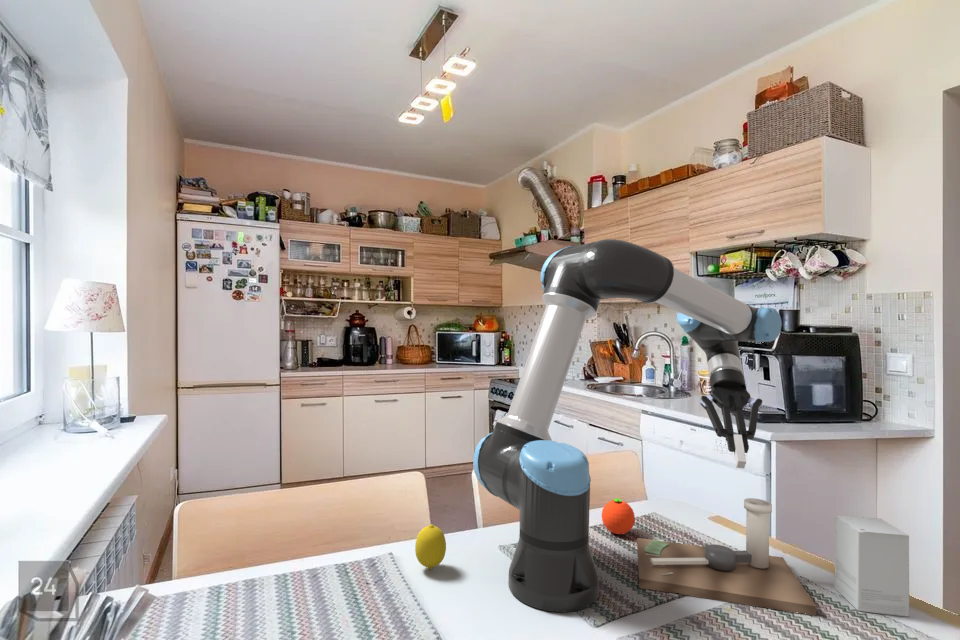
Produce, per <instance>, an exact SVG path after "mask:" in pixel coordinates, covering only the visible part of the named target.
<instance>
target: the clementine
mask: <svg viewBox="0 0 960 640" xmlns="http://www.w3.org/2000/svg"><path fill="white" fill-rule="evenodd" d="M601 521H602V523H603V525H604V527H605V528H606V529H607V530H608V531H609V532H611V533H613V534H616V535H625V534H627V533H629V532H630V531H631V530H632V529H633V527H634V525H635V521H636V517H635V512H634V509H633V508H632V507H631V505H629V504H628V503H627V502H626V501H624V500H622V499H621V498H613V499H612V500H610V501H608V502H607V503H606V504H605V505H604V506H603V507H602V510H601Z"/></svg>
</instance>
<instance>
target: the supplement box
mask: <svg viewBox="0 0 960 640" xmlns="http://www.w3.org/2000/svg"><path fill="white" fill-rule="evenodd" d="M834 589H835V590H836V591H838V593H839V594H840V595H841V596H843V598H845V600H847V601H848V603H850V605H851V606H852V607H854V608H855V609H856V611H859V612H865V613H866V612H867V613H871V614H872V613H873V614H882V615H890V616H899V617H910V535H909V534H907V533H906V532H904V531H902V530H901V529H899V528H897V527H896V526H894V525H892V524H891V523H889V522H887V521H885V520H884V519H882V518H878V517H877V518H876V517H865V516H849V515H834Z"/></svg>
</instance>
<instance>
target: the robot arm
mask: <svg viewBox="0 0 960 640" xmlns="http://www.w3.org/2000/svg"><path fill="white" fill-rule="evenodd" d="M540 271H541V272H540V283H541V284H542V286H541V287H542V288H541V289H542V290H543V293H542V296H541V299H542V301H543V303H544V306H545V309H544V312H543V314H542V317H541V320H540V322H539V326H538V327H537V331H536V334H535V336H534V339H533V342H532V345H531V348H530V351H529V352H528V357H527V359H526V361H525V365H524V367H523V370H522V372H521V376H520V379H519V381H518V384H517V386H516V389H515V392H514V394H513V397H512V400H511V404H510V406H509V410H508V411H507V414H506V415H505V416H503V417H501V418H499V419H497V421H496V422H495V425H494V428H493V430H492V432H490V433H488V434H487V435H485V436H484V437H482V438H481V439H480V440H479V442H478V443H477V444H476V447H475V450H474V453H473V459H472V465H473V472H474V474H475V477H476V478H477V481H478V482H479V484H480V485H481V486H482V487H483V488H484V489H486V491H488V492H489V493H490V494H491V495H493V496H494V497H497V498H500V499H501V500H503V501H505V502H506V503H508V504H509V505H511V506H512V507H514V508H517V510H518V511H519V535H518V536H519V537H518V541H517V544H516V548H515V550H514V554H513V556H512V559H511V562H510V565H509V568H508V581H507V582H508V588H509V591H510V593H511V594H512V595H513V596H514V597H515V598H516V599H518V600H519V601H520V602H522V603H524V604H526V605H528V606H530V607H533V608H535V609H538V610H543V611H548V612H557V613H559V612H561V613H562V612H563V613H565V612H566V613H567V612H575V611H579V610H583V609H585V608H587V607H589V606H591V605H593V604H594V603H595V602H596V601H597V599H598V598H599V594H600V579H599V574H598V571H597V567H596V564H595V561H594V558H593V555H592V550H591V547H590V543H589V541H590V540H589V539H590V538H589V534H590V533H589V532H590V503H591V502H590V500H591V481H592V480H591V479H592V478H591V475H590V474H591V473H590V463H589V459H588V457H587V456H586V454H585V453H584V452H583V451H582V450H580V449H579V448H577V447H576V446H573V445H571V444H568V443H565V442H557V441H556V440H555V441H554V440H552V438H551V436H550V433H549V429H550V425H551V422H552V419H553V416H554V414H555V411H556V408H557V405H558V402H559V398H560V396H561V393H562V390H563V387H564V384H565V383H566V382H565V381H566V378H567V375H568V372H569V369H570V366H571V363H572V360H573V357H574V354H575V352H576V349H577V346H578V343H579V340H580V337H581V334H582V331H583V329H584V325H585V323H586V321H587V320H588V319H591V318H592V317H595V316H596V315H597V311H598V308H599V306H600V305H599V304H600V302H601V300H606V299H607V300H608V299H630V300H637V301H638V302H641V303H644V304H654V303H657V304H659V305H661V306H663V307H666V308H669V309H670V310H673V311H674V312H677V315H676V322H677V323H678V325H680V327H681V328H682V330H683V332H684V333H686V334H687V335H688V337H689V338H691V339H692V340H693V341H694V342H695V343H696V344H697V346H698V347H699V348H700V349H701V350H702V351H703V352H704V353H705V356H706V362H707V364H706V365H707V370H708V377H709V386H710V392H709V395H702V396H701V400H700V406H701V407H702V408H703V409H705V411H706V413H707V415H708V418H709V420H710V423H711V425H712V427H713V429H714V431H715V434H716V436H717V437H719V438H722V437H723V438H725V441H726V444H727V449H728V452H731V453H733V456H734V461H735V467H736V469H745V467H746V464H747V457H746V454H748V452H749V450H750V445H749V440H753V439H754V438H755V435H756V432H757V431H756V430H757V426H758V425H757V423H758V417H759V416H758V415H759V411H760V409H761V407H762V404H763V400H762V398H753V397H751V393H749V392H748V390H747V384H746V378H745V375H744V370H743V365H742V360H741V356H740V349H739V344H738V343H739V342H751V343H752V342H753V343H754V342H755V343H762V342H765V343H768V342H773V341H775V340H776V339H778V337H779V336H780V335H781V331H782V324H783V323H782V318H781V315H780V313H779V311H778V310H776V309H775V308H773V307H764V306H760V307H753V306H751V305H749V304H747V303H745V302H742V301H741V300H739V299H737V298H734V296H731V295H729V294H727V293H725V292H723V291H720V290H719V289H717V288H715V287H713V286H711V285H709V284H707V283H705V282H703V281H701V280H699V279H697V278H695V277H693V276H691V275H689V274H687V273H685V272H684V271H681V270H679V269H677V268H676V267H675V266H674V264H673V262H672V261H671V259H669V258H667V257H665V256H663V255H662V254H660V253H658V252H656V251H653V250H652V249H649V248H647V247H645V246H641V245H639V244H636V243H633V242H628V241H625V240H621V239H614V238H609V239H608V238H606V239H601V240H597V241H593V242H589V243H588V242H587V243H583V244H580V245H569V246H566V247H564V248H562V249H559V250H556V251H554V252H553V253H552V254H550V256H548V257H547V258H546V260H545V261H544V263H543V265H542V268H541V270H540ZM714 404H715V405H716V406H717V407H718V408H720V410H721V411H720V412H721V415H722V421H723V422H722V421H721V419H720V417H719V414H718V412H717V410H716V408H715V406H714ZM747 404H749V408H750V409H751V410H750V415H749V421H748V430H747V426H746V421H745V416H744V412H743V411H744V410H743V409H744V408H745V406H746V405H747ZM731 411H732V412H733V416H734V418H735V423H736V424H735V425H736V430H737V434H734V425H733V421H732V414H731Z"/></svg>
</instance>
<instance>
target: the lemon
mask: <svg viewBox="0 0 960 640" xmlns="http://www.w3.org/2000/svg"><path fill="white" fill-rule="evenodd" d="M414 545H415V546H414V547H415V549H414V550H415V556H416V558H417V561H418V563H419V564H420V565H422V566H423V567H425V568H427V569H428V570H433V569H434V567H437V566H438V565H440V564H441V563H442V562H443V560H444V558H445V555H446V551H447V543H446V537H445V534H444V532H443V531H442V529H440V528H439V527H438V526H435V525H434V524H432V523H431V524H430V523H429V524H428V525H427V526H425V527H423V528H422V529H420V531H419V533H418V534H417V537H416V540H415V544H414Z"/></svg>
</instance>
